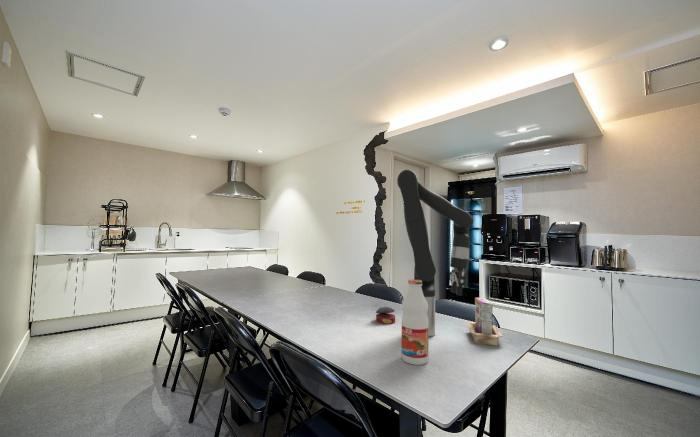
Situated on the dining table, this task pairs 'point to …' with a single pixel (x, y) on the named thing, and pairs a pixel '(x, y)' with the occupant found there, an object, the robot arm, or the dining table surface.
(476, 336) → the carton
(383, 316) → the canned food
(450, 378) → the dining table surface
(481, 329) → the candy bar box
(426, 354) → the fruit juice
